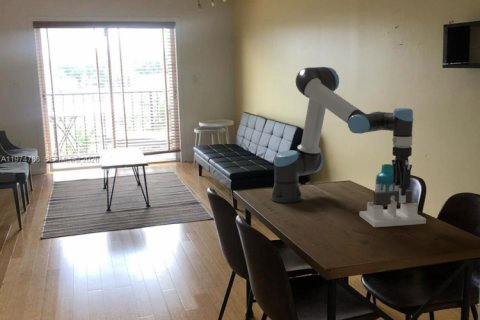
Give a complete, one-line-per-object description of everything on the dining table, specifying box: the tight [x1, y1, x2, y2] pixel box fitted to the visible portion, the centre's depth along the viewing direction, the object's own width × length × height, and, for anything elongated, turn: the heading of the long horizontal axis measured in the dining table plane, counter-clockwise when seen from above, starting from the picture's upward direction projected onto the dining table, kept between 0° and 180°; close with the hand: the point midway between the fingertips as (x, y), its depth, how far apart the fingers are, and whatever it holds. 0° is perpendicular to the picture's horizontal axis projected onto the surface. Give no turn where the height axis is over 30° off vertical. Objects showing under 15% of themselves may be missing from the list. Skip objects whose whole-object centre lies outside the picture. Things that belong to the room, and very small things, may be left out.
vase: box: [374, 163, 396, 207], centre depth 228 cm, size 11×11×19 cm
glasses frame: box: [373, 189, 413, 205], centre depth 208 cm, size 2×16×5 cm, turn 98°
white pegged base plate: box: [358, 199, 427, 228], centre depth 209 cm, size 16×22×8 cm
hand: (400, 201), depth 209 cm, fingers closed on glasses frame, 2 cm apart
